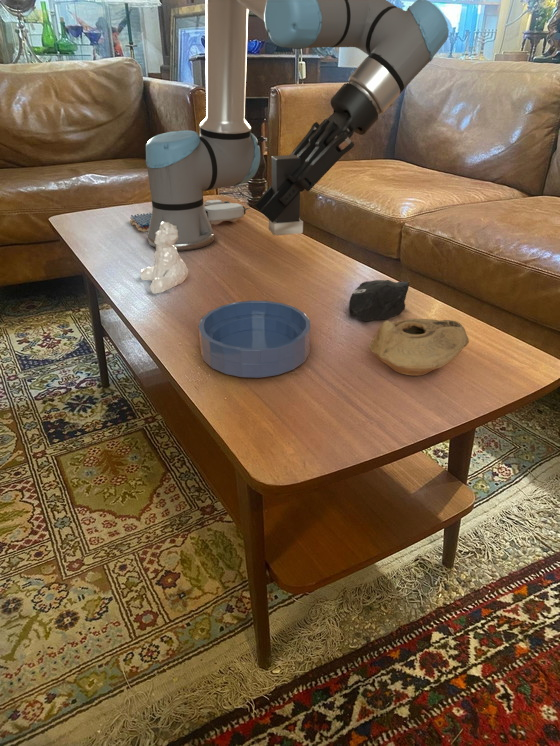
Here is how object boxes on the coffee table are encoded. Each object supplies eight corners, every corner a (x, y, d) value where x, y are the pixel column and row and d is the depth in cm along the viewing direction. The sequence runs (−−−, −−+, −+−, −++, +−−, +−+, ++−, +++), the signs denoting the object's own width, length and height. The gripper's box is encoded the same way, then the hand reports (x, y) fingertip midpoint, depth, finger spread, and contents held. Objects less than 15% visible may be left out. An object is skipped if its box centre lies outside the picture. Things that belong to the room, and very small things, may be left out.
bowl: (194, 335, 88) (191, 307, 86) (291, 322, 92) (291, 295, 90) (211, 388, 75) (209, 357, 72) (324, 371, 79) (325, 341, 76)
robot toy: (189, 218, 148) (207, 229, 136) (187, 201, 146) (205, 210, 134) (231, 213, 153) (252, 223, 141) (230, 196, 151) (251, 204, 139)
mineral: (399, 330, 90) (403, 297, 87) (345, 323, 92) (347, 291, 89) (406, 306, 98) (410, 275, 95) (357, 300, 100) (359, 270, 97)
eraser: (274, 235, 91) (273, 159, 85) (268, 229, 94) (267, 155, 88) (302, 233, 92) (304, 158, 86) (296, 227, 95) (297, 154, 89)
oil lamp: (480, 366, 80) (491, 317, 76) (405, 397, 73) (412, 344, 69) (426, 336, 88) (433, 290, 84) (353, 362, 81) (357, 313, 77)
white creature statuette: (138, 278, 109) (130, 218, 103) (179, 270, 113) (174, 212, 106) (153, 295, 102) (145, 231, 96) (196, 286, 106) (191, 225, 99)
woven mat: (167, 217, 146) (166, 209, 145) (180, 227, 138) (180, 219, 137) (128, 222, 142) (127, 214, 141) (140, 233, 134) (139, 225, 133)
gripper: (400, 123, 81) (293, 242, 86) (357, 111, 94) (266, 215, 99) (370, 83, 77) (259, 211, 82) (330, 77, 90) (236, 187, 95)
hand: (263, 213), depth 90 cm, fingers closed on eraser, 3 cm apart
